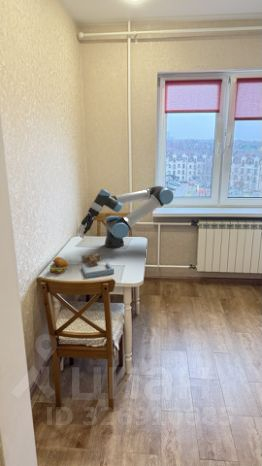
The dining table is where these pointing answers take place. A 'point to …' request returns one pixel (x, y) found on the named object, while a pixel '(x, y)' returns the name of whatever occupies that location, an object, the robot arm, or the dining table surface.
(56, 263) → the cheeseburger
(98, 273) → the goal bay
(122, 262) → the dining table surface
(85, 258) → the t block
